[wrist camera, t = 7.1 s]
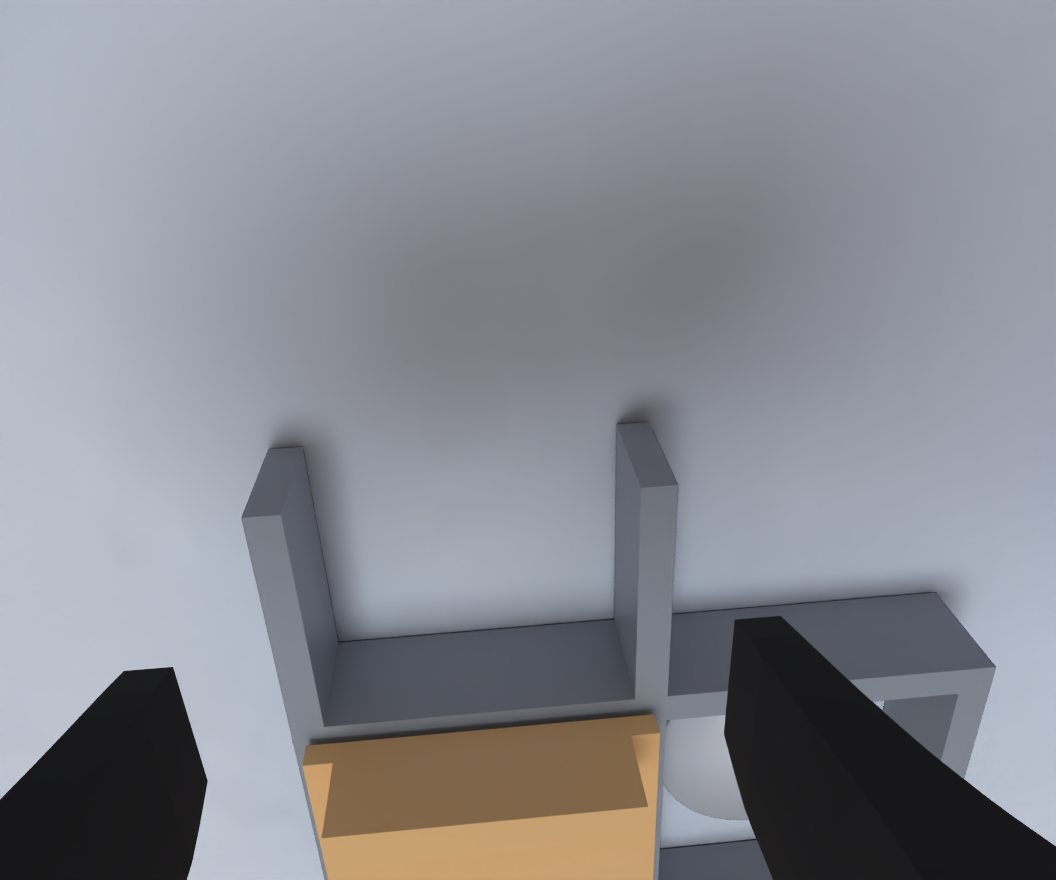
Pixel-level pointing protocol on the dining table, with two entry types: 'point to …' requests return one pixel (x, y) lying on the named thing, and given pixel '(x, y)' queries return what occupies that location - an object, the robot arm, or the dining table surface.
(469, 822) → the lid
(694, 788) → the housing
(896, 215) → the dining table surface
